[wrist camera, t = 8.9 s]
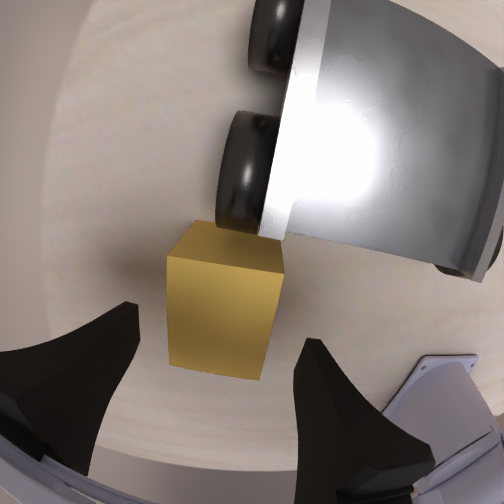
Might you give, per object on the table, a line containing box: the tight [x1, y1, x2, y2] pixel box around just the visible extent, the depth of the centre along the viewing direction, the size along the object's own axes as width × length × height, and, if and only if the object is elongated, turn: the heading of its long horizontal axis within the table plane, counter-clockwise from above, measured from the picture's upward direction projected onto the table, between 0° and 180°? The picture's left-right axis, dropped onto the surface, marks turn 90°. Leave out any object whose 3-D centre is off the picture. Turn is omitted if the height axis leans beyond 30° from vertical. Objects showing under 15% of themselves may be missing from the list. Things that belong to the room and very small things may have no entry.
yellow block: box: [167, 220, 284, 380], centre depth 14 cm, size 6×4×5 cm
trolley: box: [215, 0, 504, 283], centre depth 10 cm, size 12×13×6 cm
